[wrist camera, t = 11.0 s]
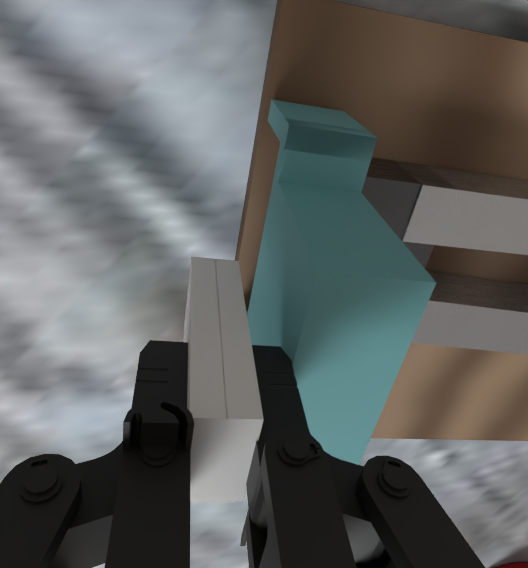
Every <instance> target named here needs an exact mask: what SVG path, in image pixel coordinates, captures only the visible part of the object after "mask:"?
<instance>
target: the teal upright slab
mask: <svg viewBox="0 0 528 568" xmlns="http://www.w3.org/2000/svg"><path fill="white" fill-rule="evenodd" d="M268 122H269V123H270V125H271V127H272V129H273V130H274V132H275V134H276V136H277V137H278V139H279V141H280V147H279V152H278V157H277V163H276V168H275V173H274V178H273V183H272V189H271V194H270V199H269V204H268V210H267V215H266V220H265V225H264V230H263V236H262V241H261V246H260V251H259V256H258V262H257V267H256V272H255V277H254V282H253V288H252V293H251V298H250V303H249V308H248V311H246V312H247V319H248V325H249V331H250V337H251V344H252V345H263V346H280V347H281V348H282V349H283V350H284V352H285V353H286V354H287V355H288V357H289V358H290V359H291V362H292V366H293V370H294V376H295V378H296V381H297V388H298V389H299V393H300V397H301V401H302V405H303V409H304V412H305V416H306V420H307V424H308V428H309V431H310V434H311V435H312V436H313V437H314V438H315V439H316V440H317V441H318V442H319V443H320V444H321V446H322V448H323V450H324V451H325V452H327V453H328V454H330V455H331V456H333V457H336V458H338V459H341V460H344V461H347V462H350V463H354V464H357V465H359V464H360V462H361V459H362V457H363V454H364V452H365V450H366V447H367V445H368V443H369V440H370V438H371V436H372V433H373V431H374V429H375V426H376V424H377V422H378V419H379V417H380V415H381V412H382V410H383V407H384V405H385V403H386V400H387V398H388V396H389V393H390V391H391V389H392V386H393V384H394V382H395V379H396V377H397V375H398V372H399V370H400V367H401V365H402V363H403V360H404V358H405V356H406V353H407V351H408V349H409V346H410V344H411V342H412V339H413V337H414V335H415V332H416V330H417V327H418V325H419V323H420V320H421V318H422V316H423V313H424V311H425V309H426V306H427V304H428V302H429V299H430V297H431V295H432V292H433V290H434V287H435V285H436V282H435V280H434V279H433V278H432V277H431V276H430V274H429V273H428V272H427V271H426V270H425V268H424V267H423V266H422V265H421V264H420V262H419V261H418V260H417V259H416V258H415V256H414V255H413V254H412V253H411V252H410V250H409V249H408V248H407V247H406V246H405V244H404V243H403V242H402V241H401V240H400V238H399V237H398V236H397V235H396V234H395V232H394V231H393V230H392V229H391V228H390V226H389V225H388V224H387V223H386V222H385V220H384V219H383V218H382V217H381V216H380V214H379V213H378V212H377V211H376V210H375V208H374V207H373V206H372V205H371V204H370V202H369V201H368V200H367V199H366V198H365V196H364V195H363V194H362V193H361V192H362V189H363V185H364V182H365V178H366V175H367V172H368V168H369V165H370V161H371V158H372V155H373V151H374V148H375V145H376V141H377V137H376V136H375V135H373V134H372V133H371V132H370V131H368V130H367V129H366V128H365V127H363V126H362V125H361V124H360V123H358V122H357V121H356V120H355V119H353V118H352V117H351V116H350V115H348V114H347V113H346V112H345V111H339V110H333V109H327V108H321V107H315V106H309V105H303V104H297V103H291V102H285V101H279V100H273V99H271V105H270V110H269V116H268Z"/></svg>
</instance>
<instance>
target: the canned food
mask: <svg viewBox="0 0 528 568" xmlns="http://www.w3.org/2000/svg"><path fill="white" fill-rule="evenodd" d="M496 568H528V563H524V562H518V563H510V564H506V565H502V566H499V567H496Z"/></svg>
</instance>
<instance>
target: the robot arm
mask: <svg viewBox="0 0 528 568" xmlns="http://www.w3.org/2000/svg"><path fill="white" fill-rule="evenodd" d="M246 490H247V497H248V506H249V509H248V513H247V517H246V521H245V524H244V528H243V532H242V537H241V545H240V546H245V545H246V541H247V549H248V560H249V568H485V567H484V565H483V564H482V563H481V561H480V560H479V558H478V557H477V556H476V554H475V553H474V551H473V550H472V549H471V547H470V546H469V544H468V543H467V542H466V540H465V539H464V537H463V536H462V535H461V533H460V532H459V530H458V529H457V528H456V526H455V525H454V523H453V522H452V521H451V519H450V518H449V516H448V515H447V514H446V512H445V511H444V509H443V508H442V507H441V505H440V504H439V502H438V501H437V500H436V498H435V497H434V495H433V494H432V493H431V491H430V490H429V488H428V487H427V486H426V484H425V483H424V481H423V480H422V479H421V477H420V476H419V475H418V474H417V473H416V472H415V471H414V469H413V468H412V467H411V466H409V465H408V464H406V463H405V462H403V461H401V460H400V459H397V458H394V457H390V456H376V457H374V458H371V459H369V460H368V461H367V463H366V464H365V466H360V465H357V464H354V463H350V462H347V461H344V460H341V459H338V458H336V457H333V456H331V455H330V454H328V453H327V452H325V451H324V450H323V448H322V446H321V444H320V443H319V442H318V441H317V440H316V439H315V438H314V437H313V436H312V435H311V434H310V431H309V428H308V424H307V420H306V416H305V412H304V409H303V405H302V401H301V397H300V393H299V389H298V388H297V381H296V378H295V376H294V370H293V366H292V362H291V359H290V358H289V357H288V355H287V354H286V353H285V352H284V350H283V349H282V348H281V347H280V346H263V345H252V344H251V337H250V331H249V325H248V319H247V312H246V306H245V300H244V293H243V287H242V281H241V275H240V268H239V262H238V261H233V260H222V259H211V258H200V257H191V267H190V276H189V286H188V295H187V305H186V315H185V324H184V342H170V341H152V340H150V341H149V342H148V344H147V345H146V346H145V347H144V349H143V350H142V351H141V352H140V356H139V363H138V371H137V376H136V383H135V389H134V396H133V402H132V409H131V410H129V411H128V413H127V415H126V417H125V420H124V422H123V441H122V443H121V444H120V445H119V446H118V447H117V448H116V449H114V450H113V451H111V452H110V453H108V454H106V455H104V456H102V457H99V458H96V459H93V460H90V461H86V462H82V463H78V464H75V463H74V462H73V461H72V460H71V459H69V458H67V457H64V456H62V455H59V454H43V455H39V456H35V457H31V458H29V459H27V460H25V461H23V462H21V463H20V464H18V465H16V466H15V467H14V468H13V469H12V470H11V471H10V472H9V473H8V474H7V475H6V476H5V478H4V479H3V481H2V482H1V484H0V568H92V567H95V566H98V565H101V564H103V563H105V568H190V503H191V502H244V498H245V494H246Z"/></svg>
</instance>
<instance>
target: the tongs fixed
mask: <svg viewBox="0 0 528 568" xmlns="http://www.w3.org/2000/svg"><path fill="white" fill-rule="evenodd" d="M361 193H362V194H363V195H364V196H365V198H366V199H367V200H368V201H369V202H370V204H371V205H372V206H373V207H374V208H375V210H376V211H377V212H378V213H379V214H380V216H381V217H382V218H383V219H384V220H385V222H386V223H387V224H388V225H389V226H390V228H391V229H392V230H393V231H394V232H395V234H396V235H397V236H398V237H399V238H400V240H401V241H402V242H403V243H404V244H405V246H406V247H407V248H408V249H409V250H410V252H411V253H412V254H413V255H414V256H415V258H416V259H417V260H418V261H419V262H420V264H421V265H422V266H423V267H424V268H425V267H426V265H427V262H428V260H429V257H430V255H431V252H432V250H433V248H434V245H440V246H449V247H458V248H467V249H476V250H485V251H494V252H504V253H513V254H522V255H528V180H521V179H514V178H507V177H500V176H494V175H487V174H480V173H473V172H466V171H459V170H453V169H446V168H439V167H432V166H426V165H422V164H416V163H409V162H402V161H395V160H388V159H381V158H375V157H372V158H371V161H370V165H369V168H368V172H367V175H366V178H365V182H364V185H363V189H362V192H361Z"/></svg>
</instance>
